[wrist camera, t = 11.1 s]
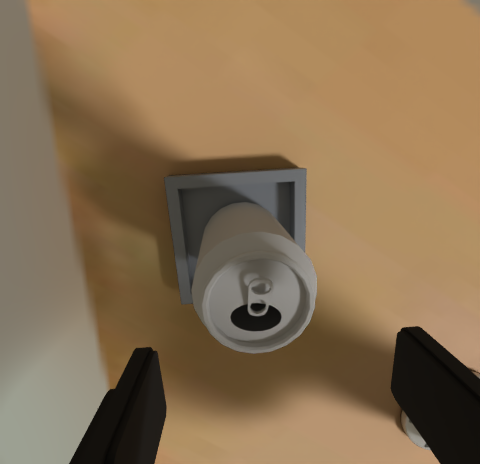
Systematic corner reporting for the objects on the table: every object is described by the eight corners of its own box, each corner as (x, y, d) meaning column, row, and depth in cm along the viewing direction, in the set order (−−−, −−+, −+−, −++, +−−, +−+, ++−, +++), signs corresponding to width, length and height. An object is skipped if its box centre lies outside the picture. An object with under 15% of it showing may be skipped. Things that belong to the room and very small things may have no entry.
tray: (299, 167, 24) (306, 168, 22) (298, 283, 28) (304, 293, 26) (169, 175, 24) (164, 177, 22) (184, 292, 27) (181, 304, 25)
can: (201, 272, 26) (186, 366, 14) (204, 197, 24) (188, 237, 12) (275, 275, 27) (317, 366, 15) (284, 202, 25) (340, 244, 13)
